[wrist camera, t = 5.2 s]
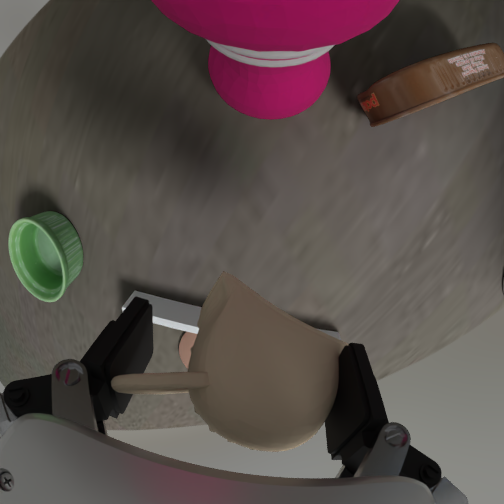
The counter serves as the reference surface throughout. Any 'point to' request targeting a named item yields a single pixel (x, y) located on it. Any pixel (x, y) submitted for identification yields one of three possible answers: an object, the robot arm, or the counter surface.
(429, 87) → the tin
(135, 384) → the beige cup
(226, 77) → the pepper mill
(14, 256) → the ramekin
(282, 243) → the counter surface
